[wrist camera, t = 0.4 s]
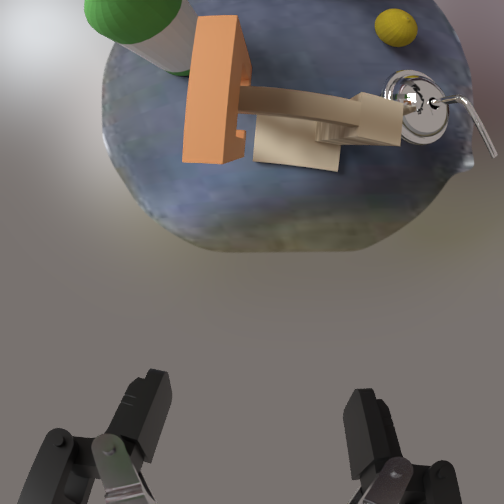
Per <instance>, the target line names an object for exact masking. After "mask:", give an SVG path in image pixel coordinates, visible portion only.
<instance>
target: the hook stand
mask: <svg viewBox="0 0 504 504" xmlns="http://www.w3.org/2000/svg"><path fill="white" fill-rule="evenodd" d="M403 106H404V103H400V102H397V101H394V100H390V99H387V98H383V97H380V96H376V95H372V94H368V93H364V92H361V93H359V94H358V95H356V96H354V97H352V98H351V99H345V98H341V97H336V96H331V95H325V94H319V93H313V92H306V91H299V90H291V89H282V88H272V87H255V86H240V94H239V104H238V113H240V114H255V115H257V120H256V131H255V142H254V154H253V161H256V162H267V163H276V164H285V165H294V166H302V167H309V168H317V169H323V170H330V171H336V172H338V165H339V157H340V149H341V145H384V146H400V142H401V132H402V121H403Z"/></svg>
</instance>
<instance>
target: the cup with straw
mask: <svg viewBox="0 0 504 504" xmlns="http://www.w3.org/2000/svg"><path fill="white" fill-rule="evenodd" d="M380 97H383V98H387V99H390V100H394V101H397V102H400V103H404V106H403V121H402V132H401V138H402V139H403V140H405V141H407V142H409V143H412V144H414V145H427V144H430V143H432V142H435V141H436V140H438V139H439V138H440V137H441V136H442V135H443V133H444V132H445V130H446V127H447V123H448V119H449V113H450V110H449V104H453V103H461V104H463V105H464V106H465V108H466V110H467V111H468V113H469V115H470V116H471V118H472V120H473V122H474V123H475V125H476V127H477V129H478V130H479V132H480V134H481V136H482V138H483V140H484V142H485V144H486V146H487V148H488V150H489V153H490V155H491V157H492V158H495V157H496V156H497V152H496V150H495V148H494V145H493V143H492V141H491V139H490V137H489V135H488V133H487V131H486V129H485V127H484V125H483V124H482V122H481V120H480V118H479V116H478V115H477V113H476V111H475V109H474V108H473V106H472V104H471V103H470V101H469V100H468V99H467V98H466V97H464V96H463V95H460V94H459V95H458V94H457V95H452V96H446V95H445V94H444V92H443V91H442V89H441V88H440V87H439V86H438V85H437V84H436V83H435V82H434V81H433V80H432V79H431V78H429V77H428V76H426V75H425V74H423V73H421V72H418V71H414V70H401V71H397V72H395V73H393V74H391V75H390V76H389V77H388V78H387V79H386V81H385V83H384V84H383V88H382V91H381V95H380Z"/></svg>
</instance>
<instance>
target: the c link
mask: <svg viewBox="0 0 504 504" xmlns="http://www.w3.org/2000/svg"><path fill="white" fill-rule="evenodd" d="M251 75H252V65H251V61H250V58H249V54H248V50H247V47H246V43H245V40H244V36H243V33H242V29H241V26H240V22H239V19H238V16H237V15H221V16H200V17H198V19H197V25H196V31H195V38H194V44H193V51H192V59H191V67H190V75H189V84H188V93H187V103H186V114H185V127H184V141H183V158H182V162H189V163H211V164H224V163H227V162H230V161H233V160H236V159H239V158H242V157H244V152H245V140H246V131H245V130H236V127H237V115H238V104H239V94H240V86H250V85H251Z"/></svg>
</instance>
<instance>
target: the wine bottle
mask: <svg viewBox="0 0 504 504" xmlns="http://www.w3.org/2000/svg"><path fill="white" fill-rule="evenodd" d="M84 5H85V6H84V12H85V15H86V18H87V21H88V23H89V24H90V25H91V26H92V27H93V28H94V29H95V30H96V31H97V32H98V33H100V34H102V35H104V36H105V37H107V38H109V39H111V40H113V41H114V42H116V43H118V44H120V45H122V46H124V47H125V48H127V49H129V50H131V51H132V52H134V53H136V54H138V55H139V56H141V57H143V58H145V59H146V60H148V61H150V62H151V63H153V64H155V65H156V66H158V67H159V68H161V69H163V70H165V71H166V72H168V73H170V74H172V75H177V76H188V75H190V67H191V59H192V51H193V44H194V38H195V31H196V25H197V19H198V16H197V14H196V13H195V11H194V10H193V8H192V7H191V5H190V4H189V2H188V1H187V0H85V4H84Z"/></svg>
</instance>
